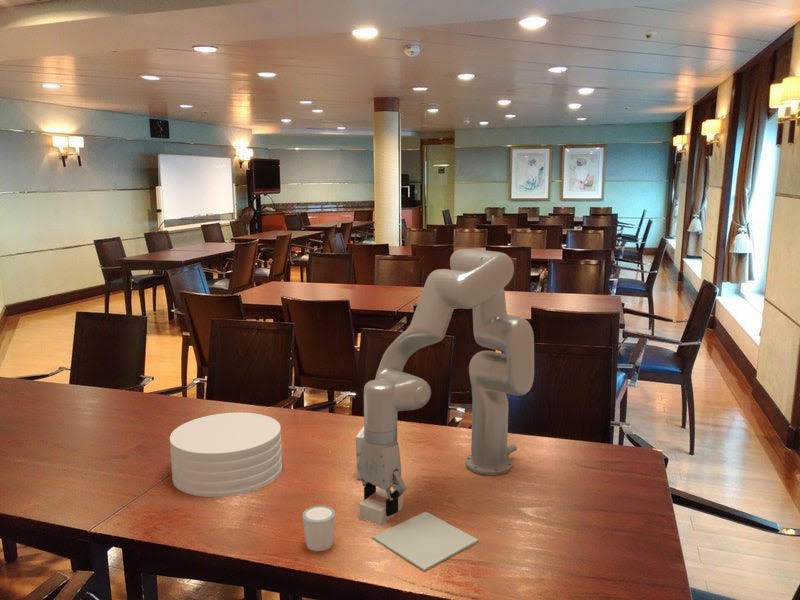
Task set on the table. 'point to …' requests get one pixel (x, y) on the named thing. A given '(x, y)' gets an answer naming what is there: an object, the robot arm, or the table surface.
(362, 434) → the ink cartridge box
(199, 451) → the plate stack
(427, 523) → the mat
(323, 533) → the shot glass
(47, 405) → the table surface
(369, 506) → the card box
